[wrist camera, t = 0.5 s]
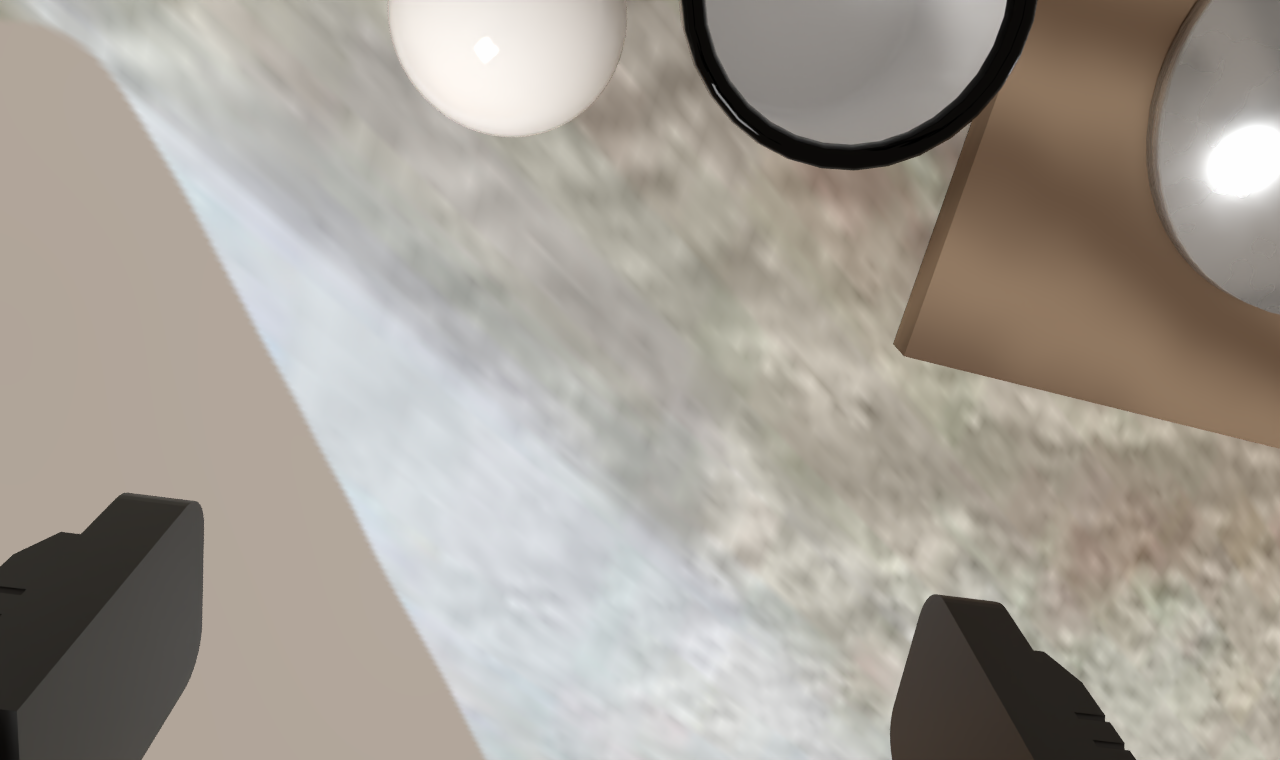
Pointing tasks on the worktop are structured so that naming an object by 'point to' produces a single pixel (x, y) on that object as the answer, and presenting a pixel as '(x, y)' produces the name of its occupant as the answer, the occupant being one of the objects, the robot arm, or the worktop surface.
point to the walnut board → (1086, 242)
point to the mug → (854, 71)
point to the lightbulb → (509, 58)
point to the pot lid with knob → (1222, 147)
